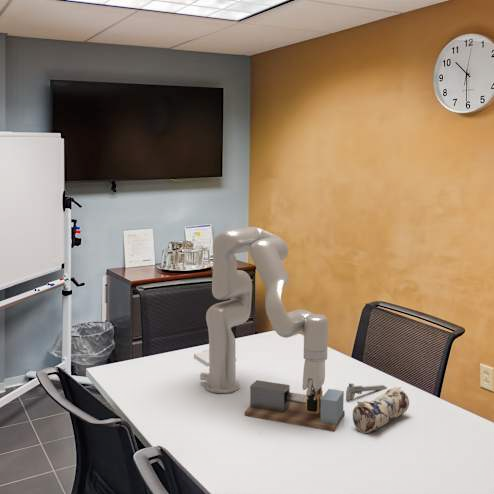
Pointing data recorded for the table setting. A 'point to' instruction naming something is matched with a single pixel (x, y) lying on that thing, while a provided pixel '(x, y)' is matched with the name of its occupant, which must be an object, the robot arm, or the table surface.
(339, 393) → the socket
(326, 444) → the table surface
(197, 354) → the mounting plate
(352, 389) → the caliper
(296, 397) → the tube
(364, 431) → the pencil case
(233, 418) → the table surface
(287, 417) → the board
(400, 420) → the table surface
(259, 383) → the sleeve
